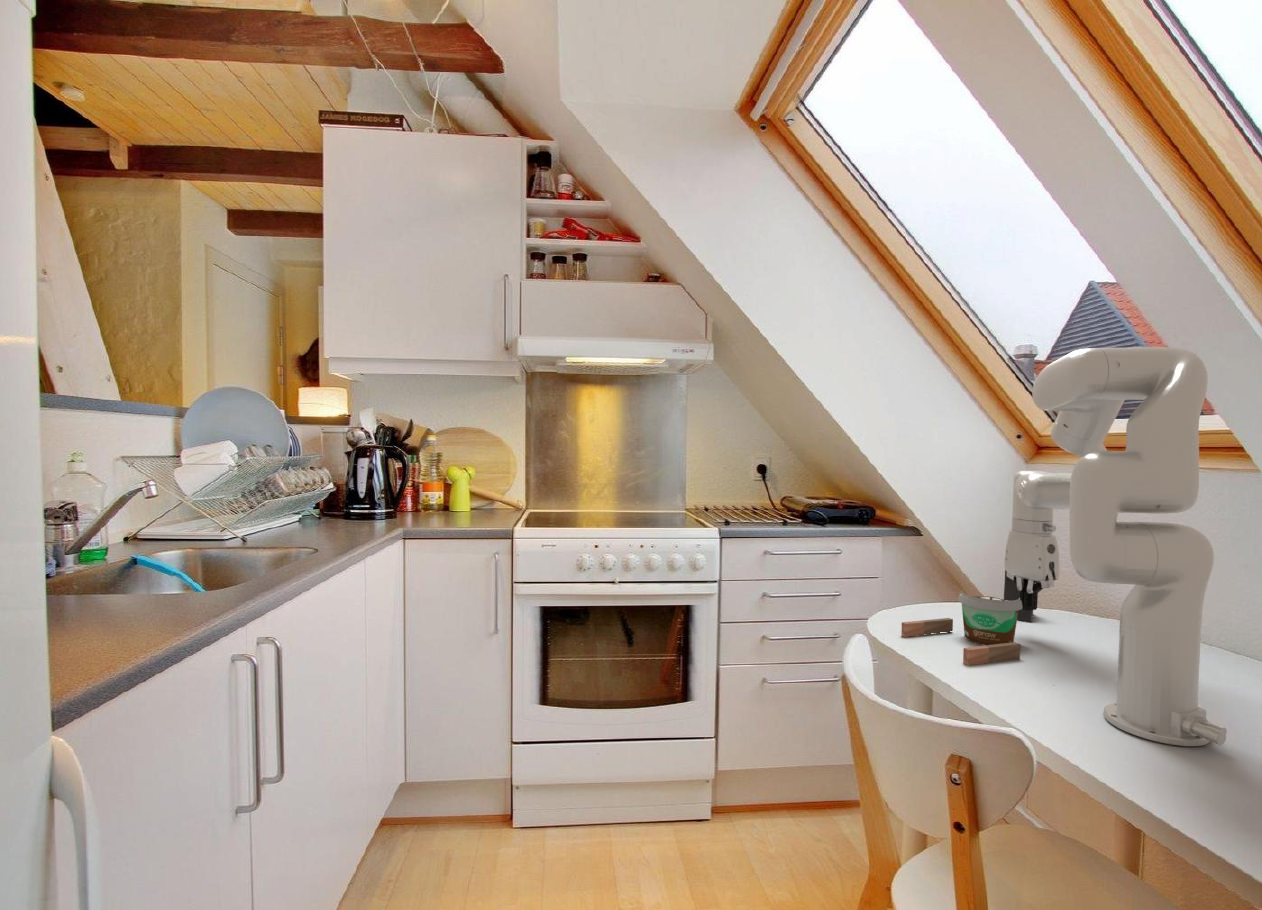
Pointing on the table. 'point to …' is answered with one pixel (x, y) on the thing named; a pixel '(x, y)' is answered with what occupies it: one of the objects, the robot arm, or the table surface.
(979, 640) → the food container
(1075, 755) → the table surface
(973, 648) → the lane walls
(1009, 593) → the phone stand
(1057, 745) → the table surface
